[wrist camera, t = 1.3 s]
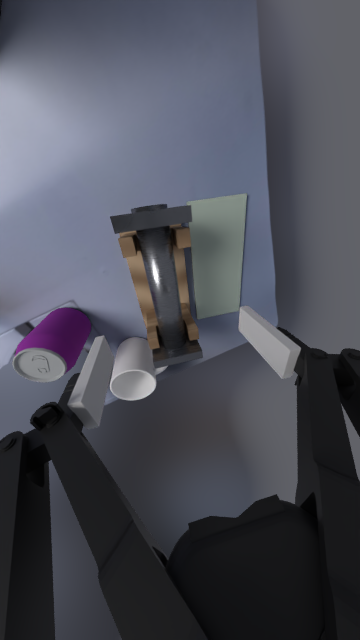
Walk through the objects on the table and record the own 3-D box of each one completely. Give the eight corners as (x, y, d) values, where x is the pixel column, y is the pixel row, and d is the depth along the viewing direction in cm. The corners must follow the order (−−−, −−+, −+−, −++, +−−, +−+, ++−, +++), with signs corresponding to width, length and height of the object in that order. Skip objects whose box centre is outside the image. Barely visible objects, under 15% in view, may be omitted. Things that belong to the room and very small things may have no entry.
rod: (118, 213, 21) (108, 210, 15) (176, 205, 22) (190, 198, 16) (153, 341, 32) (155, 371, 26) (191, 333, 33) (202, 359, 27)
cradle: (115, 216, 26) (100, 213, 17) (178, 207, 27) (196, 199, 18) (146, 326, 37) (147, 362, 28) (190, 317, 38) (205, 348, 29)
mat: (186, 202, 27) (187, 201, 26) (245, 193, 28) (246, 193, 27) (196, 318, 38) (197, 319, 38) (237, 309, 39) (239, 310, 39)
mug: (162, 326, 38) (168, 357, 29) (172, 352, 42) (179, 386, 33) (111, 342, 37) (101, 379, 29) (126, 367, 42) (121, 405, 33)
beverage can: (95, 337, 36) (76, 383, 26) (55, 339, 35) (18, 388, 24) (88, 305, 32) (64, 343, 22) (43, 305, 31) (-6, 346, 21)
